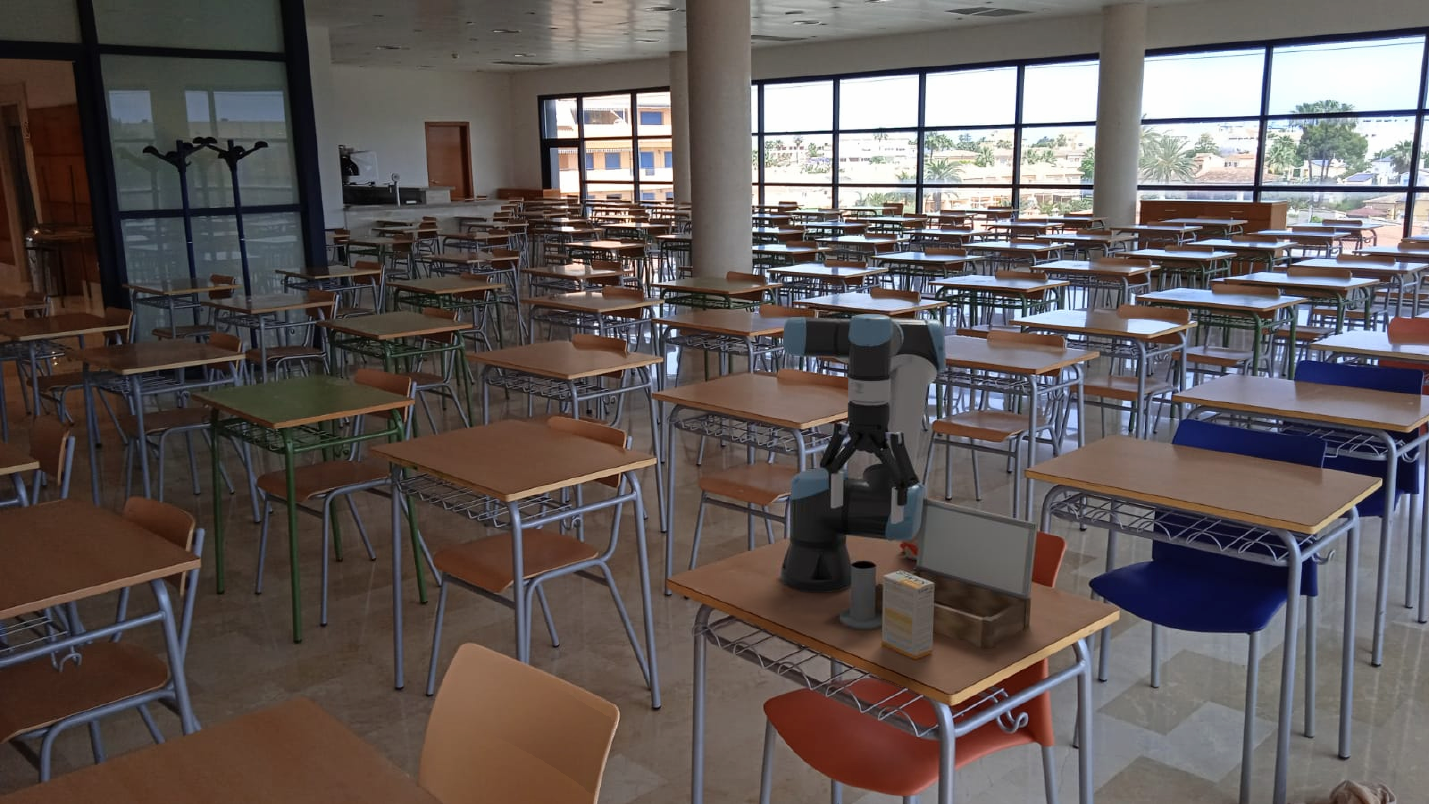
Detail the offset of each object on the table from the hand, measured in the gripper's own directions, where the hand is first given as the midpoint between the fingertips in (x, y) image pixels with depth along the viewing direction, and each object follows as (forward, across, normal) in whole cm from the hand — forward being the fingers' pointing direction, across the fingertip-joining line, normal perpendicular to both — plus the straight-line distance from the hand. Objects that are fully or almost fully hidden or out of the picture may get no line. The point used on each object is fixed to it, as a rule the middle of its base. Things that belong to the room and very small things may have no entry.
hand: (866, 514), depth 193 cm
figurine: (+21, -13, +36) cm, 44 cm away
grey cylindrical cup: (+20, 0, 0) cm, 20 cm away
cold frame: (+21, +12, +12) cm, 26 cm away
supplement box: (+21, +13, -5) cm, 25 cm away
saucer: (+21, 0, 0) cm, 21 cm away
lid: (+8, +11, +19) cm, 23 cm away
